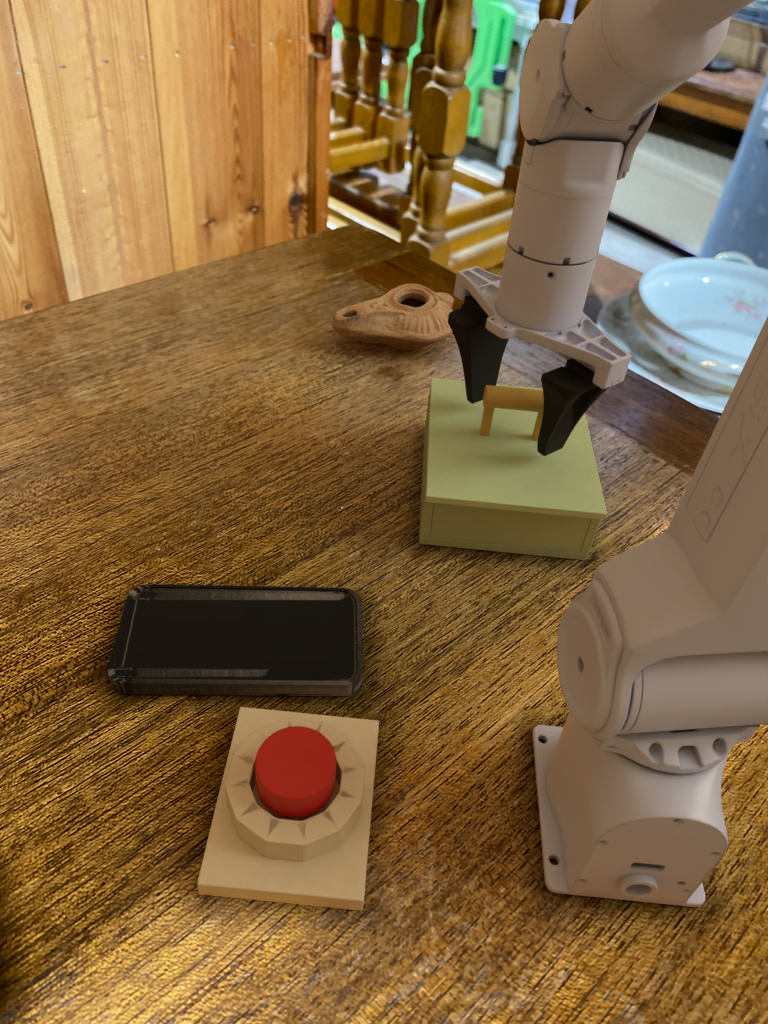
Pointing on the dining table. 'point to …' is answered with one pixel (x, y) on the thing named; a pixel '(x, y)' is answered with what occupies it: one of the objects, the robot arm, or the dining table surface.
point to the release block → (293, 821)
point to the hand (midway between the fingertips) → (513, 423)
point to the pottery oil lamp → (398, 318)
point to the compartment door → (506, 455)
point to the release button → (295, 771)
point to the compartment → (502, 527)
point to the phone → (238, 641)
